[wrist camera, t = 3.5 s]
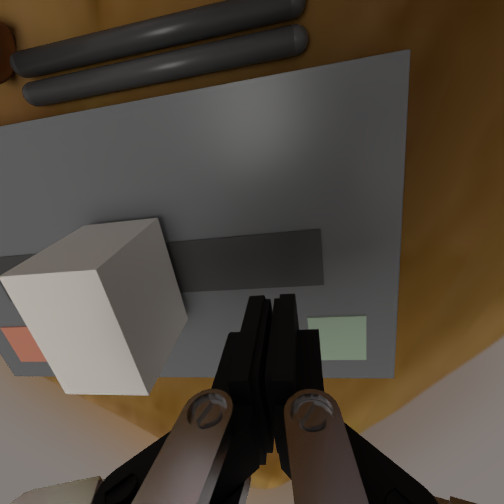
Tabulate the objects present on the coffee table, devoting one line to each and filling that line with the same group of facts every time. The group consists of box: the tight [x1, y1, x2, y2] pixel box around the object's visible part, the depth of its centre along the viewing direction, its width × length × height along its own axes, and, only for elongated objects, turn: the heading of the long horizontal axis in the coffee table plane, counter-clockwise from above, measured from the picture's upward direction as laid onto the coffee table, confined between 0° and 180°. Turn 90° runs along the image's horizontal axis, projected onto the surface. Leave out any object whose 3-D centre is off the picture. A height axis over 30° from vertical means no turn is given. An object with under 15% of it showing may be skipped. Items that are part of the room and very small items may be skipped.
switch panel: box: [0, 0, 410, 378], centre depth 18 cm, size 26×19×4 cm
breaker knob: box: [0, 218, 188, 395], centre depth 14 cm, size 4×6×5 cm, turn 9°
